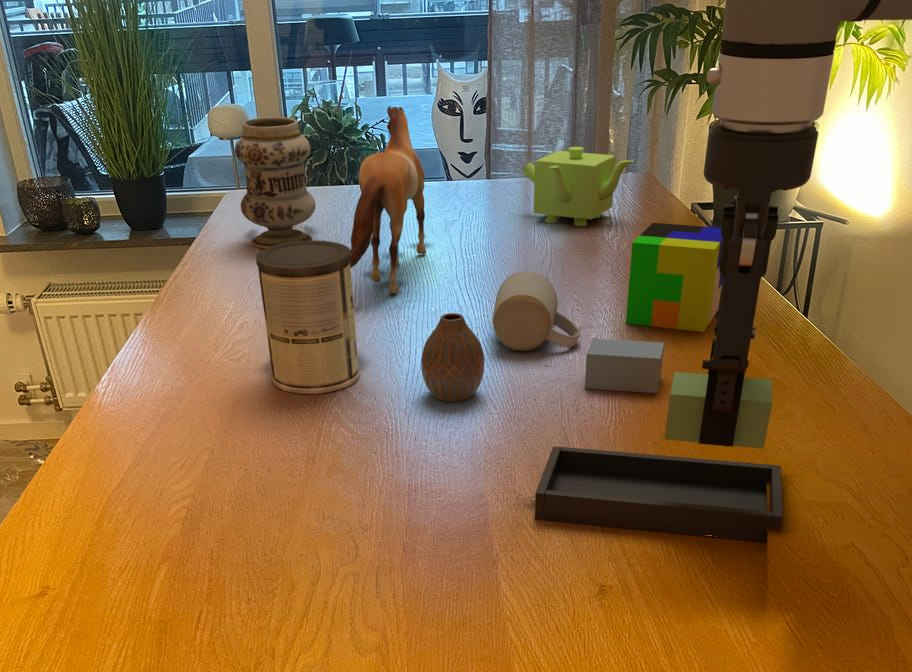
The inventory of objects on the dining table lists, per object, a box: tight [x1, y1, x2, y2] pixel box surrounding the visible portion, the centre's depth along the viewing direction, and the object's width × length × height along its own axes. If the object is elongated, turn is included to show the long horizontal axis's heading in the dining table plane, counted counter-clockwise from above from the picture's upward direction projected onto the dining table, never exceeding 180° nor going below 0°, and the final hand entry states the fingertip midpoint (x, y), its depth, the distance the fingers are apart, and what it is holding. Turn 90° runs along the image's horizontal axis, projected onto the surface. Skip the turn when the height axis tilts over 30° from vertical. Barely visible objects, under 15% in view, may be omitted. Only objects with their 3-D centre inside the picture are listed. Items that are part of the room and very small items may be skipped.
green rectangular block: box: [664, 371, 774, 450], centre depth 84 cm, size 8×5×4 cm, turn 75°
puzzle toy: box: [625, 222, 723, 333], centre depth 128 cm, size 10×10×10 cm
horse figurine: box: [350, 106, 427, 295], centre depth 143 cm, size 31×8×21 cm, turn 167°
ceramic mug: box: [492, 270, 581, 352], centre depth 122 cm, size 11×8×8 cm
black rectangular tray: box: [534, 446, 784, 543], centre depth 89 cm, size 21×10×3 cm, turn 75°
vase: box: [420, 312, 485, 403], centre depth 109 cm, size 7×7×9 cm
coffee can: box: [255, 240, 361, 395], centre depth 113 cm, size 10×10×14 cm
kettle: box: [521, 146, 635, 227], centre depth 169 cm, size 15×14×11 cm
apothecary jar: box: [234, 116, 317, 250], centre depth 160 cm, size 12×12×18 cm
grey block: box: [584, 338, 665, 394], centre depth 112 cm, size 8×5×4 cm, turn 75°
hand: (717, 428), depth 85 cm, fingers closed on green rectangular block, 5 cm apart
